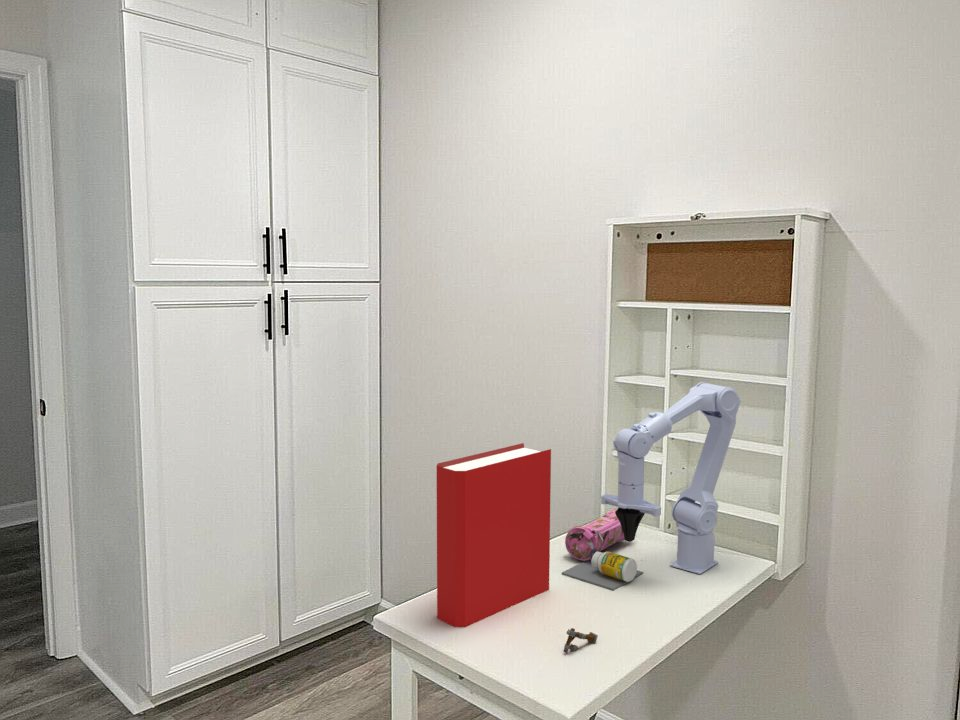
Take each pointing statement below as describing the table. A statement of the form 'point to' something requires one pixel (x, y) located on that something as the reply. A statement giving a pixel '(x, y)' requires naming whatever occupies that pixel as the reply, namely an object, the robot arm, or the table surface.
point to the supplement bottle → (615, 565)
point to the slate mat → (595, 576)
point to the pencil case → (594, 536)
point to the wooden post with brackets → (572, 634)
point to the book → (492, 532)
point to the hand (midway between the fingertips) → (629, 540)
